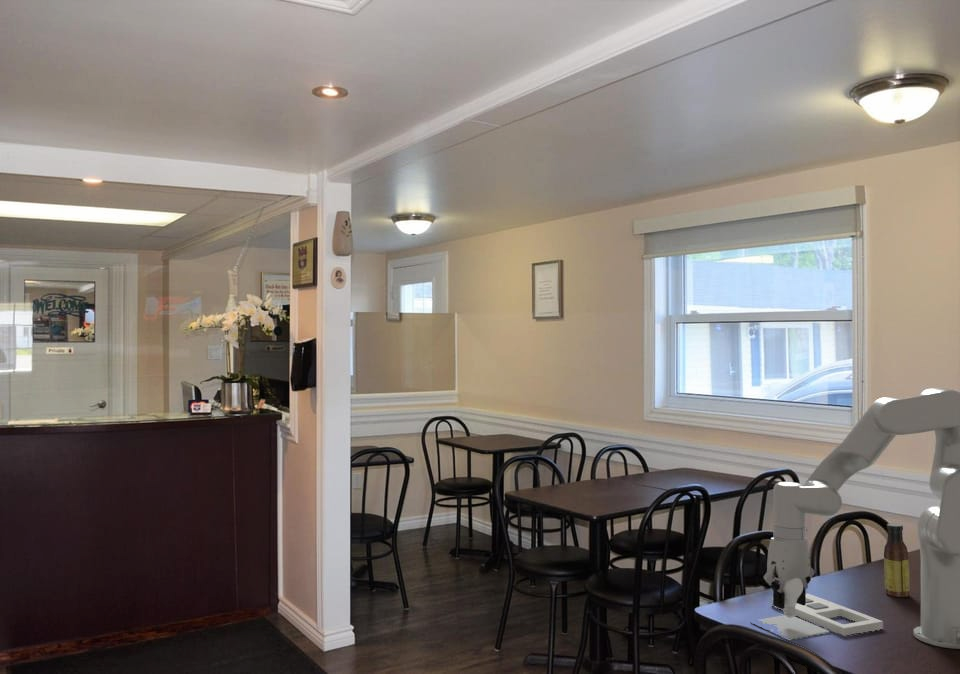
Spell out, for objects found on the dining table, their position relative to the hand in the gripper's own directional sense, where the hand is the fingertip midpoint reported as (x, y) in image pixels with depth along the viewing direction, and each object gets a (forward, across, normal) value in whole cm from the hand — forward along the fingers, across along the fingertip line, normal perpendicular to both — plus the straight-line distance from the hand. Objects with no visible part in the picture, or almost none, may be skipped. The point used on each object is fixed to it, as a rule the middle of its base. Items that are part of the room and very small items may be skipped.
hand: (789, 604), depth 196 cm
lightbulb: (+3, 0, 0) cm, 3 cm away
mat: (+6, 0, 0) cm, 6 cm away
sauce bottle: (+6, -48, -9) cm, 50 cm away
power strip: (+6, -14, -2) cm, 16 cm away
